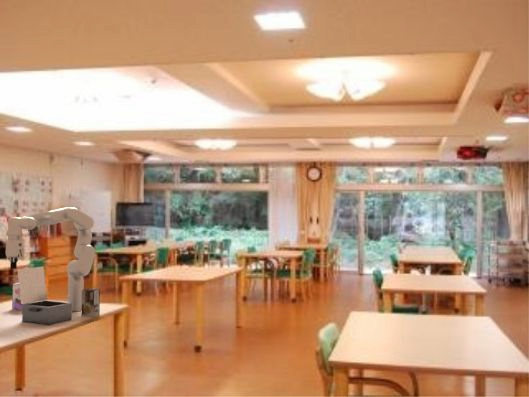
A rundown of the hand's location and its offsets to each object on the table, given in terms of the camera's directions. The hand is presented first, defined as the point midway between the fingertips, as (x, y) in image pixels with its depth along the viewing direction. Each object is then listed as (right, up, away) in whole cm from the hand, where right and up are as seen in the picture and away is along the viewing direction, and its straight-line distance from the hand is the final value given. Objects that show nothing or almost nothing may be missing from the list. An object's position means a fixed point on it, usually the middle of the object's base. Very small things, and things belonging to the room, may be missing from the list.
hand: (13, 268), depth 362 cm
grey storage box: (+24, -29, -12) cm, 39 cm away
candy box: (-4, -29, +26) cm, 39 cm away
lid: (+14, -9, -7) cm, 18 cm away
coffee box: (+44, -30, +7) cm, 54 cm away
